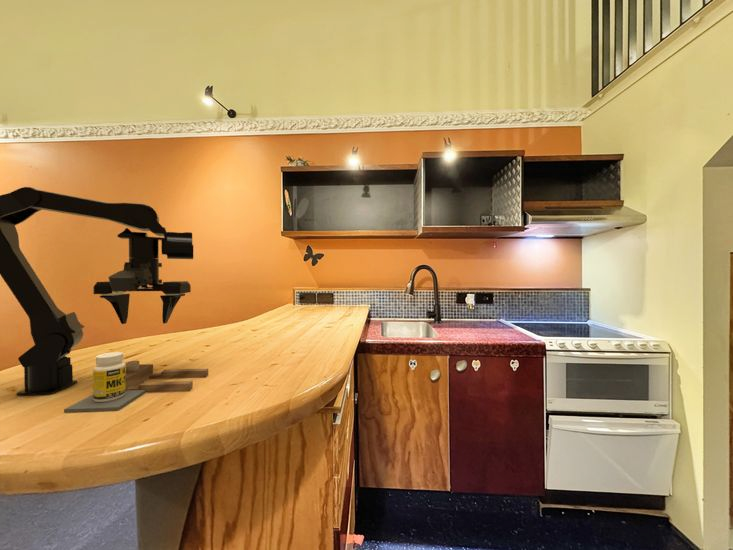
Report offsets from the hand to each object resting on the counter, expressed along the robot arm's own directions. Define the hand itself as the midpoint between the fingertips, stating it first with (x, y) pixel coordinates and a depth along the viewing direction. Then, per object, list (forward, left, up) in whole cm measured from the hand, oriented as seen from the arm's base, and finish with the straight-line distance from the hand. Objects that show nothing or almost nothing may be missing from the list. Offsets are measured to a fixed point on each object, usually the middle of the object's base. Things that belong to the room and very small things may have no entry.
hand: (144, 323), depth 71 cm
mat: (+2, -14, -12) cm, 19 cm away
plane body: (+7, -6, -13) cm, 16 cm away
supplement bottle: (+2, -14, -12) cm, 19 cm away
